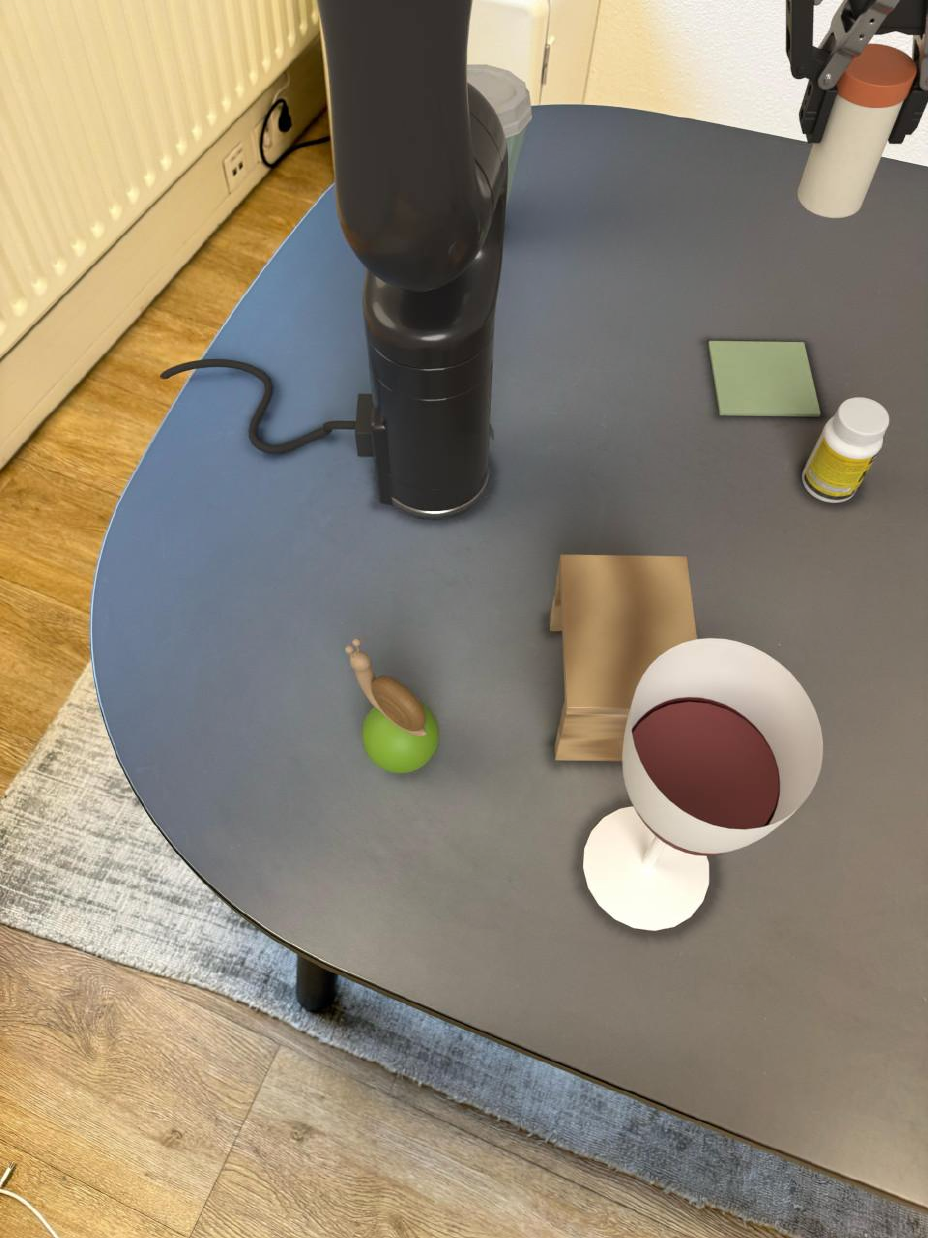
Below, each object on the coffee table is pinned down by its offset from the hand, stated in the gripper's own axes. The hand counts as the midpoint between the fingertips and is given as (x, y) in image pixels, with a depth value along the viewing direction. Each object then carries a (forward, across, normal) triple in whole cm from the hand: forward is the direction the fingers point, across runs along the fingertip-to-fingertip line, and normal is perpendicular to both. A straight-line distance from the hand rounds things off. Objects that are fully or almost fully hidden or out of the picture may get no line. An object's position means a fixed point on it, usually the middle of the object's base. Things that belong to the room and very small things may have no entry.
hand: (851, 135), depth 63 cm
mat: (+28, -2, -6) cm, 28 cm away
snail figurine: (+28, +29, +32) cm, 51 cm away
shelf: (+28, +14, +27) cm, 41 cm away
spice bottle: (+5, 0, 0) cm, 5 cm away
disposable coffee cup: (+28, +25, -26) cm, 46 cm away
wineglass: (+28, +12, +40) cm, 50 cm away
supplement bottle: (+28, -6, +6) cm, 29 cm away
